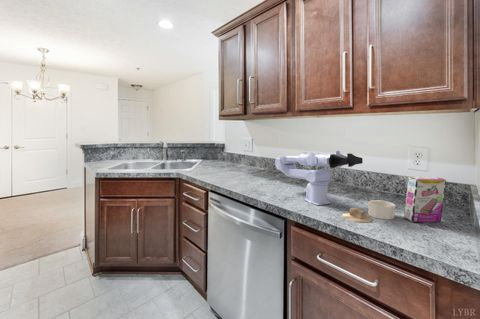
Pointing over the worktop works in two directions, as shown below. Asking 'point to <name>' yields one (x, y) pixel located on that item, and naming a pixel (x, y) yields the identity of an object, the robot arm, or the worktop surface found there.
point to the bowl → (381, 209)
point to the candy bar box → (424, 199)
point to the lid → (357, 216)
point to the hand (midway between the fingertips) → (354, 161)
